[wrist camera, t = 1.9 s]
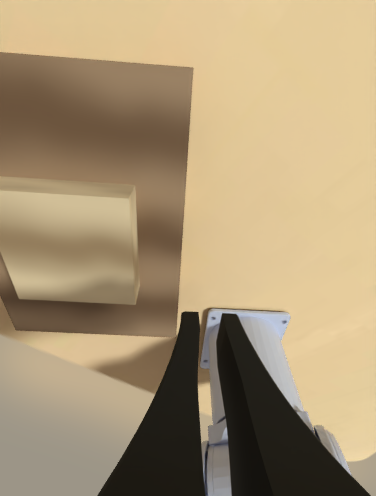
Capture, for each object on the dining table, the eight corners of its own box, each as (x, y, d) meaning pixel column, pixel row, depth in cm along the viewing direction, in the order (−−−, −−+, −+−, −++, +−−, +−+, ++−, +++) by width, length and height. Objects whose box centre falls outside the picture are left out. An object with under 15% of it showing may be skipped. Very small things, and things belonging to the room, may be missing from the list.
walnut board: (177, 312, 26) (176, 337, 24) (32, 304, 26) (15, 330, 23) (192, 67, 15) (193, 67, 13) (-62, 47, 15) (-113, 43, 12)
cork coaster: (139, 285, 20) (135, 304, 19) (33, 280, 20) (19, 299, 18) (135, 185, 16) (128, 198, 14) (-2, 176, 16) (-25, 189, 14)
